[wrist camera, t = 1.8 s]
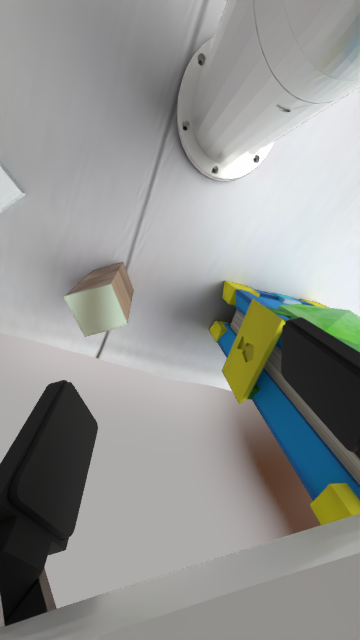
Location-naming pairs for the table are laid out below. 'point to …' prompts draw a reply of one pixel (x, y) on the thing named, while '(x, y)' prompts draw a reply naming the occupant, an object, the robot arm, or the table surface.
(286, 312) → the decorative book
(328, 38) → the robot arm
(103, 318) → the walnut block
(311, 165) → the table surface
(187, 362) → the table surface
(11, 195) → the external hard drive
